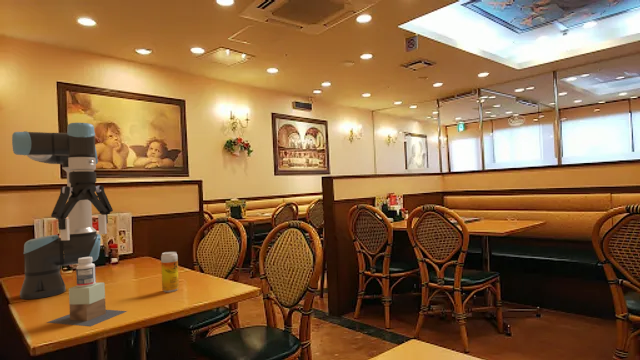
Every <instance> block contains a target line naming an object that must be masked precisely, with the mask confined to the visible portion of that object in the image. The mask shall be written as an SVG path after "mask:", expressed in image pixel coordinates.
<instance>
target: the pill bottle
mask: <svg viewBox="0 0 640 360" xmlns="http://www.w3.org/2000/svg"><path fill="white" fill-rule="evenodd" d="M92 261H93V258H92V257H82V258H79V259H78V263H79V264H77V266H76V267H75V273H76V274H75V275H76V276H75V277H76V286H77V287H88V286H92V285H95V284H96V283H97V279H96V278H97V277H96V276H97V275H96V265H95V263H93V262H94V261H93V262H92Z"/></svg>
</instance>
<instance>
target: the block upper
mask: <svg viewBox="0 0 640 360" xmlns="http://www.w3.org/2000/svg"><path fill="white" fill-rule="evenodd" d="M105 284H106V283H105V282H96V284H95V285H92V286H88V287H77V285H75V286H71V287H70V288H68V299H69V300H68V303H69V304H91V303H94V302H96V301H99V300H101V299H103V298H105V299H106V290H105V288H106V286H105Z"/></svg>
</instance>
